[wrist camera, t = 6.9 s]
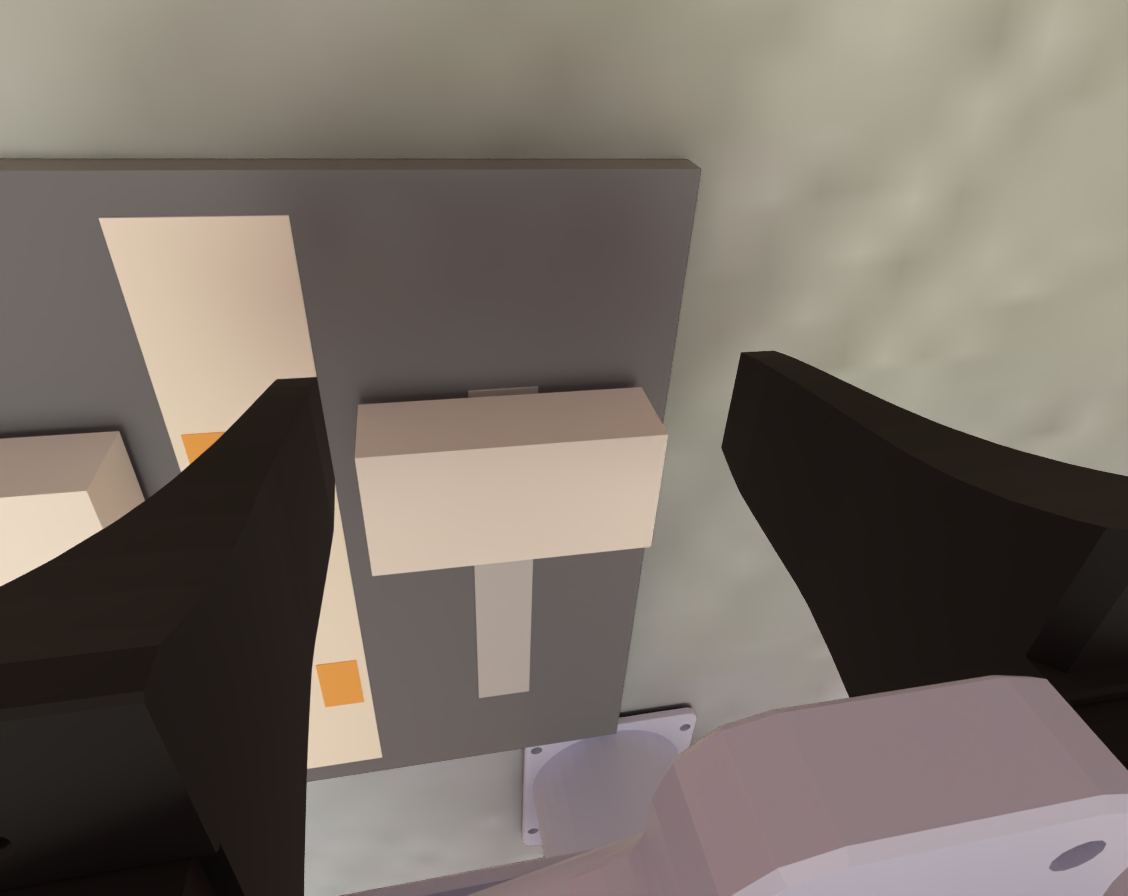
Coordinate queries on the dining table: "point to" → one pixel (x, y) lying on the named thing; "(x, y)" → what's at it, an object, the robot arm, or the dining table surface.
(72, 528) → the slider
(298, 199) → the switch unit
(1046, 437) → the dining table surface
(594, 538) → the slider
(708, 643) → the dining table surface
